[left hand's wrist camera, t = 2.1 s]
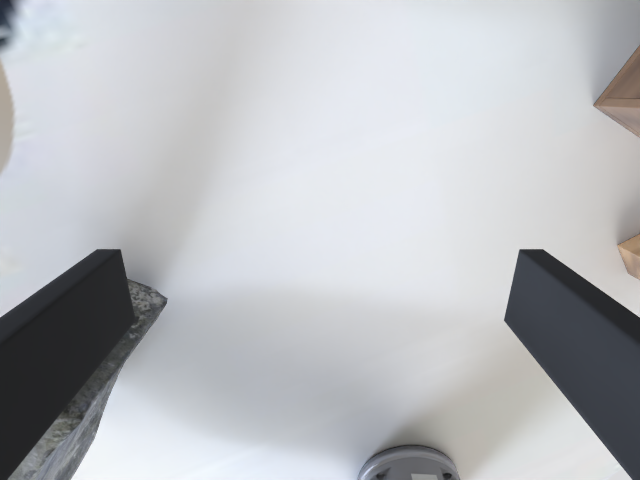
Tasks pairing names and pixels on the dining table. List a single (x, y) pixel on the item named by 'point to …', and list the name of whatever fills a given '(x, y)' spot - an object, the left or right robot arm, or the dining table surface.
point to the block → (631, 255)
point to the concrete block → (89, 401)
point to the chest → (624, 96)
